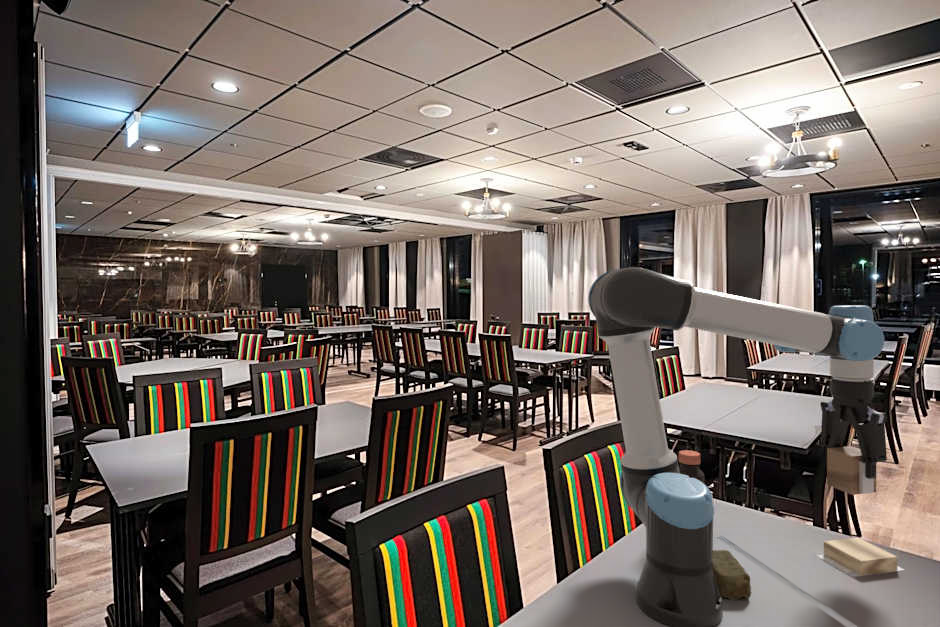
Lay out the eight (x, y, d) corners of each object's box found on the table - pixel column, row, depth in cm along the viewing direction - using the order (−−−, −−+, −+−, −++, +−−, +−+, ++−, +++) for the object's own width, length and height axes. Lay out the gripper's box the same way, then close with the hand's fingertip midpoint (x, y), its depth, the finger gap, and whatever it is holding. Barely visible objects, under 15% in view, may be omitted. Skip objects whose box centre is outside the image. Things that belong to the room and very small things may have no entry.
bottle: (708, 533, 131) (709, 453, 130) (696, 542, 126) (697, 459, 125) (681, 525, 136) (682, 447, 135) (669, 533, 131) (669, 452, 130)
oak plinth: (860, 575, 109) (861, 561, 109) (823, 554, 118) (823, 541, 118) (897, 571, 111) (897, 556, 111) (857, 550, 119) (858, 537, 119)
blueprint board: (852, 581, 109) (852, 576, 108) (815, 560, 117) (815, 555, 117) (905, 574, 111) (905, 569, 111) (865, 554, 120) (865, 549, 120)
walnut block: (851, 494, 109) (851, 456, 109) (827, 484, 115) (827, 448, 115) (876, 492, 111) (876, 454, 110) (850, 482, 116) (850, 446, 116)
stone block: (728, 571, 113) (728, 548, 113) (753, 602, 102) (753, 577, 102) (700, 570, 114) (700, 547, 113) (721, 601, 102) (722, 576, 102)
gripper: (911, 384, 104) (911, 501, 104) (828, 371, 122) (829, 471, 123) (878, 386, 102) (879, 505, 103) (800, 373, 121) (801, 473, 122)
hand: (852, 486), depth 113 cm, fingers closed on walnut block, 6 cm apart
